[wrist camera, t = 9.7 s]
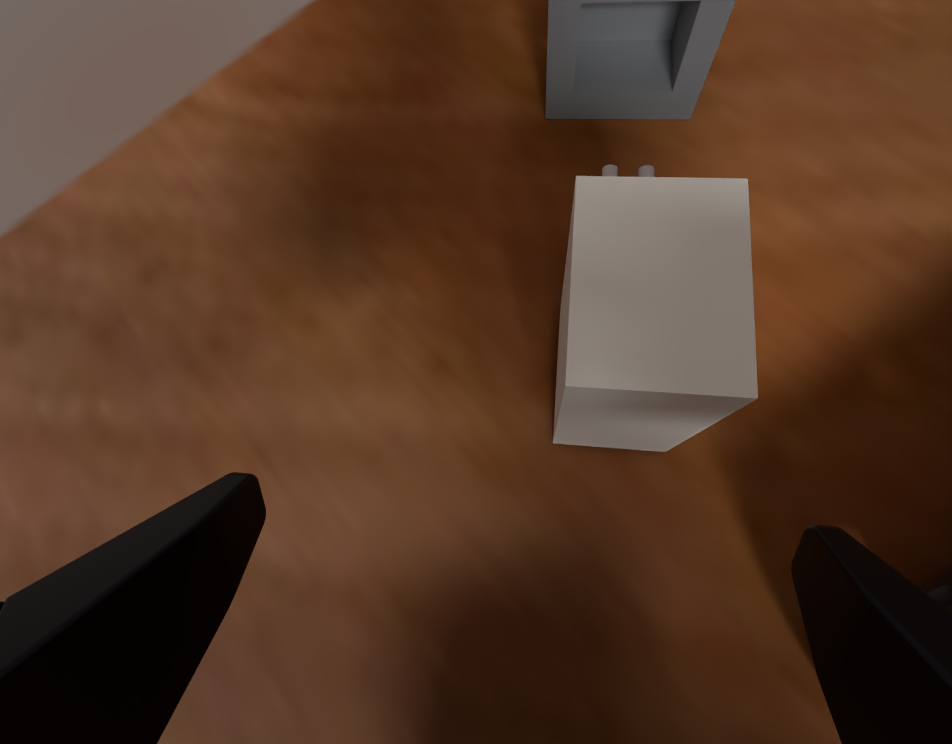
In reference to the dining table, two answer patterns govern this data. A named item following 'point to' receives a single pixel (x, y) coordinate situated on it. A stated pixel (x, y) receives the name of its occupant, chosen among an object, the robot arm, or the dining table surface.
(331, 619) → the dining table surface
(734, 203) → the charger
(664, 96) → the block
